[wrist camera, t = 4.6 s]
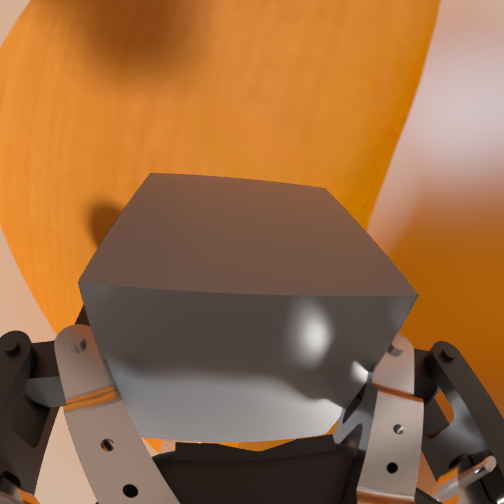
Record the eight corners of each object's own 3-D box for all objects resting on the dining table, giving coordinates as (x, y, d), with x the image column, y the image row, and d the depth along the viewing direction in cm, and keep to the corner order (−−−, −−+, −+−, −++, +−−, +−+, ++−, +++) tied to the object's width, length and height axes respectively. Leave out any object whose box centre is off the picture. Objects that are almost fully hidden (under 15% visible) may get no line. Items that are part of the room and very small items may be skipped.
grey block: (150, 172, 10) (78, 281, 4) (325, 188, 11) (418, 295, 5) (156, 310, 13) (135, 436, 8) (291, 315, 14) (325, 434, 9)
